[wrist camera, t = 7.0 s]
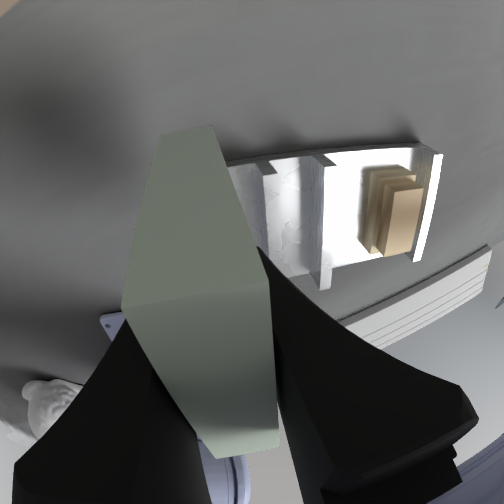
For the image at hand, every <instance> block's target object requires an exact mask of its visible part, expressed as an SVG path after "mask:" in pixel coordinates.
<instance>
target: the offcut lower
mask: <svg viewBox="0 0 504 504" xmlns="http://www.w3.org/2000/svg"><path fill="white" fill-rule="evenodd" d="M415 180H416V174H414V173H413V172H411V171H410V170H408V169H407V168H400V169H390V170H379V171H371V175H370V186H369V197H368V207H367V216H366V224H365V232H364V240H363V247H364V248H365V249H366V251H367V252H368V253H369V255H373V254H377V253H380V252H379V251H378V250H377V248H376V243H377V237H378V231H379V224H380V217H381V210H382V202H383V194H384V186H385V184H387V183H395V182H404V181H415Z"/></svg>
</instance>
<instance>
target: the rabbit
mask: <svg viewBox="0 0 504 504" xmlns="http://www.w3.org/2000/svg"><path fill="white" fill-rule="evenodd" d="M82 388H83V386H81V385H77V384H74V383H70V382H67V381H64V380H60V379H55V380H52V381H49V382H48V381H42V380H33V381H29V382H27V383H26V384H25V386H24V387H23V389H22V396H23V398H24V399H26V400H28V401H29V407H28V421H29V424H30V427H31V429H32V431H33V433H34V435H35V436H36V437H37V438H38V440H39V439H40V438H41V437H42V436H43V435H44V434H45V433H46V432H47V431H48V429H49V428H50V427H51V426H52V425H53V424H54V423H55V422H56V421H57V419H58V418H59V417H60V416H61V415H62V413H63V412H64V411H65V410H66V409H67V407H68V406H69V405H70V404H71V402H72V401H73V400H74V398H75V397H76V396H77V394H78V393H79V392H80V390H81V389H82Z"/></svg>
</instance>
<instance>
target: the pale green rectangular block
mask: <svg viewBox="0 0 504 504" xmlns="http://www.w3.org/2000/svg"><path fill="white" fill-rule="evenodd" d="M121 310H122V312H123V314H124V316H125V318H126V319H127V321H128V323H129V325H130V327H131V329H132V331H133V333H134V334H135V336H136V338H137V340H138V342H139V343H140V345H141V347H142V349H143V350H144V352H145V354H146V356H147V357H148V359H149V361H150V363H151V364H152V366H153V368H154V369H155V371H156V373H157V374H158V376H159V377H160V379H161V381H162V382H163V384H164V385H165V387H166V389H167V390H168V392H169V393H170V395H171V396H172V398H173V399H174V401H175V403H176V404H177V406H178V407H179V409H180V410H181V412H182V413H183V414H184V416H185V417H186V419H187V420H188V422H189V423H190V425H191V426H192V427H193V429H194V430H195V432H196V433H197V434H198V436H199V437H200V439H201V440H202V441H203V443H204V444H205V445H206V447H207V448H208V449H209V451H210V452H211V453H212V455H213V456H214V457H215V458H216V459H219V458H225V457H232V456H238V455H243V454H249V453H254V452H259V451H263V450H268V449H273V448H277V447H280V442H279V424H278V408H277V392H276V377H275V362H274V347H273V333H272V319H271V305H270V292H269V280H268V277H267V275H266V272H265V269H264V266H263V264H262V261H261V258H260V255H259V253H258V250H257V247H256V244H255V242H254V239H253V236H252V233H251V231H250V228H249V225H248V223H247V220H246V217H245V214H244V212H243V209H242V206H241V203H240V201H239V198H238V195H237V192H236V190H235V187H234V184H233V182H232V179H231V176H230V173H229V171H228V168H227V165H226V163H225V160H224V157H223V154H222V152H221V149H220V146H219V144H218V141H217V138H216V136H215V133H214V130H213V127H212V125H211V126H205V127H199V128H194V129H188V130H183V131H178V132H173V133H168V134H163V135H160V137H159V140H158V144H157V147H156V150H155V154H154V157H153V161H152V164H151V168H150V171H149V175H148V179H147V183H146V186H145V190H144V194H143V198H142V202H141V206H140V211H139V215H138V219H137V224H136V228H135V233H134V237H133V242H132V247H131V252H130V257H129V262H128V267H127V273H126V279H125V284H124V290H123V296H122V303H121Z"/></svg>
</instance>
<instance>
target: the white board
mask: <svg viewBox="0 0 504 504" xmlns="http://www.w3.org/2000/svg"><path fill="white" fill-rule="evenodd" d="M491 252H492V249H491V248H490V247H489V246H486V247H484V248H483V249H481V250H479V251H478V252H476V253H474V254H473V255H471V256H469V257H467V258H466V259H464V260H462V261H460V262H459V263H457V264H455V265H453V266H451V267H450V268H448V269H446V270H444V271H442V272H440V273H439V274H437V275H435V276H433V277H431V278H429V279H427V280H425V281H423V282H421V283H420V284H418V285H416V286H414V287H412V288H410V289H408V290H406V291H404V292H402V293H400V294H398V295H396V296H394V297H392V298H389V299H387V300H385V301H383V302H381V303H379V304H377V305H375V306H373V307H370V308H368V309H366V310H364V311H362V312H359V313H357V314H355V315H353V316H351V317H348V318H346V319H344V320H341V321H339V322H338V323H340V324H341V325H342V326H344V327H345V328H347V329H348V330H349V331H351V332H353V333H354V334H356V335H357V336H359V337H360V338H362V339H363V340H365V341H366V342H368V343H370V344H371V345H373V346H375V347H377V348H378V349H382V348H384V347H386V346H388V345H390V344H392V343H394V342H396V341H398V340H400V339H402V338H404V337H405V336H407V335H409V334H411V333H413V332H415V331H417V330H419V329H421V328H422V327H424V326H426V325H428V324H430V323H431V322H433V321H435V320H437V319H438V318H440V317H442V316H443V315H445V314H447V313H449V312H450V311H452V310H453V309H455V308H457V307H459V306H460V305H462V304H463V303H465V302H467V301H468V300H470V299H471V298H473V297H474V296H476V295H477V294H478V293H480V292H481V291H482V288H483V283H484V281H485V275H486V273H487V267H488V264H489V261H490V257H491Z"/></svg>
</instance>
